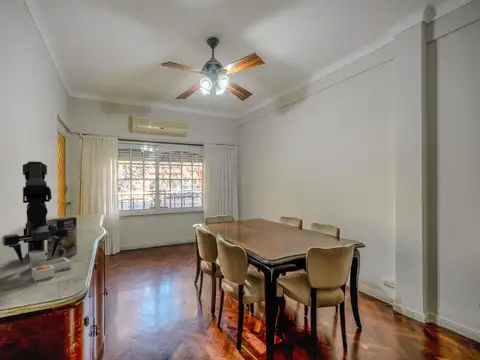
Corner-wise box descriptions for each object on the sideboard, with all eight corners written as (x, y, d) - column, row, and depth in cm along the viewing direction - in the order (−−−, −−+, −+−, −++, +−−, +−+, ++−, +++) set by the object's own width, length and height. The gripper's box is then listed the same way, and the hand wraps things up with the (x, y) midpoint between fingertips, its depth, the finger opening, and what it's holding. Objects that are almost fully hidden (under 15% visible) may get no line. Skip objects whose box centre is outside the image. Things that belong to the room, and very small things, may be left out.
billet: (29, 267, 97) (29, 251, 97) (42, 265, 100) (42, 249, 100) (31, 270, 94) (31, 253, 94) (45, 267, 97) (45, 251, 97)
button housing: (31, 277, 87) (31, 268, 87) (50, 272, 91) (50, 264, 91) (35, 281, 83) (35, 271, 83) (54, 276, 87) (54, 267, 87)
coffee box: (59, 259, 106) (59, 220, 106) (46, 258, 108) (45, 219, 107) (77, 253, 115) (77, 216, 115) (65, 252, 116) (64, 216, 116)
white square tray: (39, 268, 95) (39, 262, 95) (64, 263, 101) (64, 256, 101) (44, 273, 90) (44, 266, 90) (71, 267, 96) (71, 261, 96)
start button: (36, 273, 87) (35, 267, 87) (47, 270, 89) (47, 264, 89) (38, 275, 85) (38, 269, 85) (50, 272, 87) (50, 266, 87)
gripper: (6, 223, 85) (7, 271, 85) (72, 216, 98) (73, 257, 99) (1, 219, 92) (2, 264, 92) (63, 214, 106) (64, 252, 106)
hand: (37, 259), depth 97 cm, fingers open, 9 cm apart
